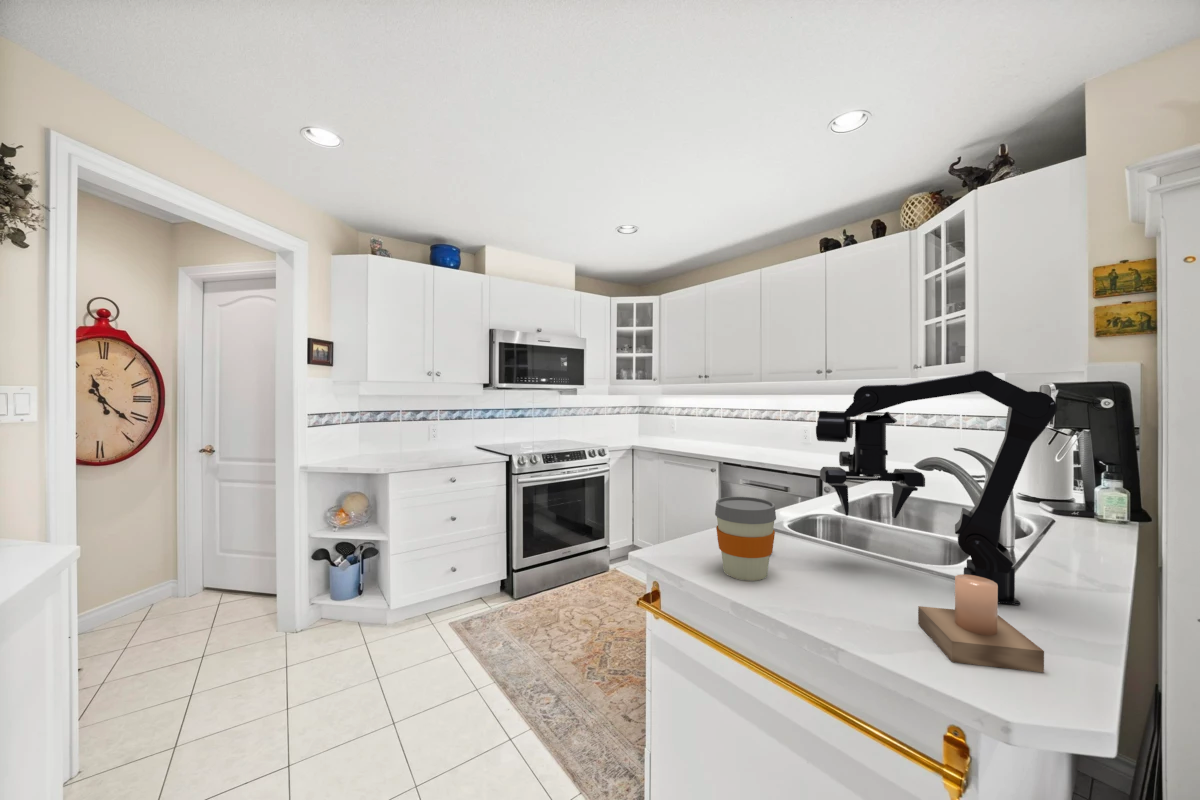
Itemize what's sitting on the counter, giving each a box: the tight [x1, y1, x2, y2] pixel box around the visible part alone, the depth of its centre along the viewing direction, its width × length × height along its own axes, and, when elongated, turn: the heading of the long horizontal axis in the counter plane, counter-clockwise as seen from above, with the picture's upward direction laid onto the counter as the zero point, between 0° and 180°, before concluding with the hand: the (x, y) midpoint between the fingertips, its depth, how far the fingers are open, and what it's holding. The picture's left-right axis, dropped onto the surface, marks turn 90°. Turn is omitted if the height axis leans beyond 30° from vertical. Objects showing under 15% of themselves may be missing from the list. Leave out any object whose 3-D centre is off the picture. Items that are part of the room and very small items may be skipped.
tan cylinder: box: [954, 573, 999, 635], centre depth 70 cm, size 5×5×7 cm
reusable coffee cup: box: [714, 496, 777, 582], centre depth 99 cm, size 13×13×15 cm
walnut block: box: [917, 605, 1045, 673], centre depth 70 cm, size 11×11×3 cm
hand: (870, 516), depth 98 cm, fingers open, 9 cm apart
